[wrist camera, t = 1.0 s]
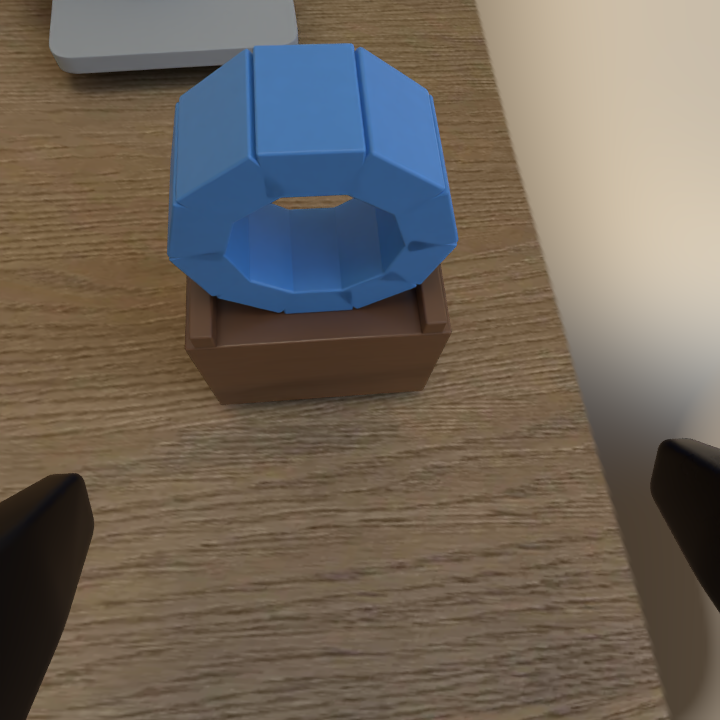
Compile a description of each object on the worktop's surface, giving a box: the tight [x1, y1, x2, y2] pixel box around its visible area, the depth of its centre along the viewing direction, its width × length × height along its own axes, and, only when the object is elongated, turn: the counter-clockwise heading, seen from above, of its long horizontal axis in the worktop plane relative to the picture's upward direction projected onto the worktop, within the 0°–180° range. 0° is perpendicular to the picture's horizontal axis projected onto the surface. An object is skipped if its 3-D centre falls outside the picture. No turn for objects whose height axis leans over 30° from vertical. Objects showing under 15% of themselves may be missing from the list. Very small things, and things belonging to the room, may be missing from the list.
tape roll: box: [167, 43, 458, 314], centre depth 15 cm, size 3×8×7 cm, turn 95°
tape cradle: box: [185, 264, 452, 405], centre depth 21 cm, size 5×8×7 cm, turn 95°
